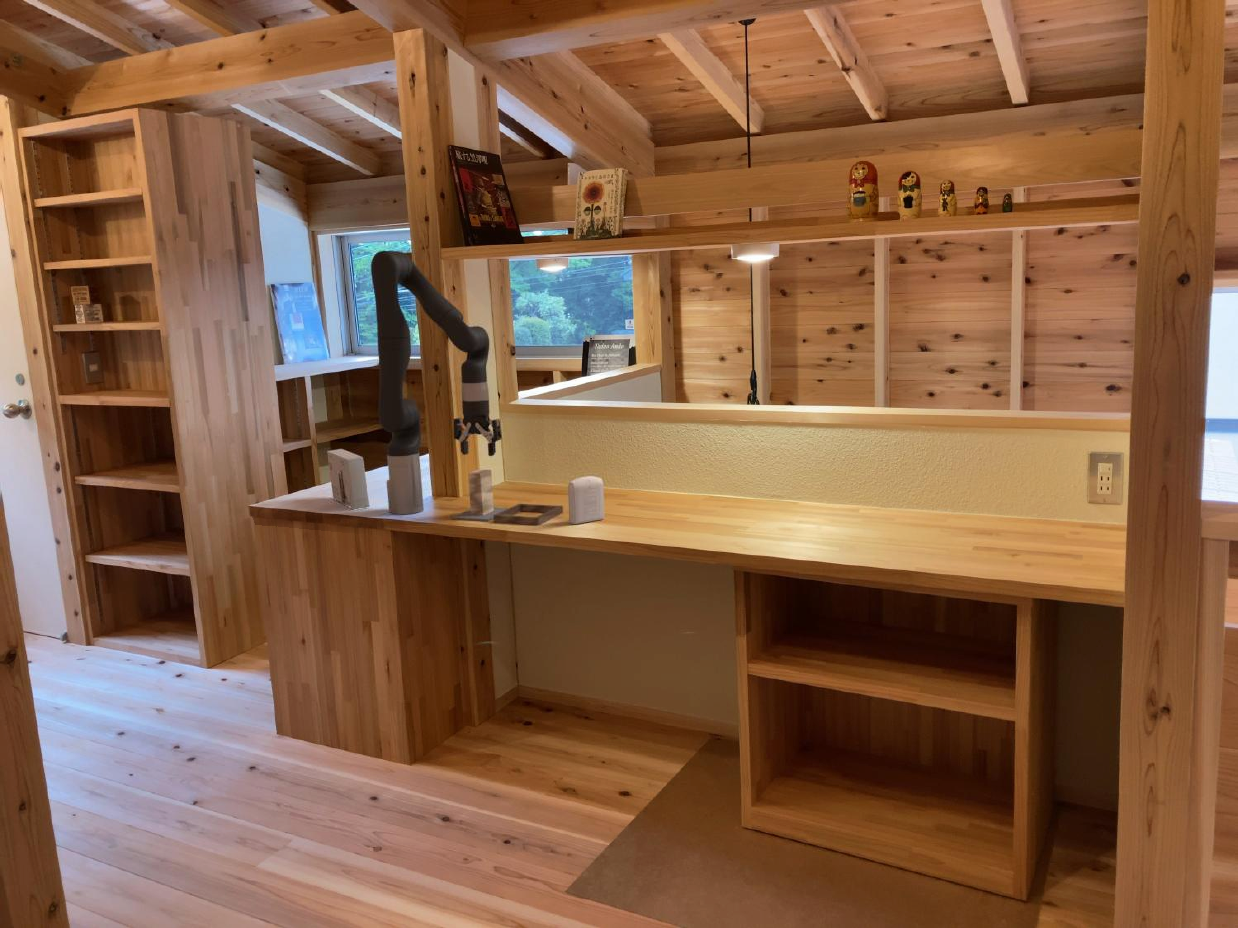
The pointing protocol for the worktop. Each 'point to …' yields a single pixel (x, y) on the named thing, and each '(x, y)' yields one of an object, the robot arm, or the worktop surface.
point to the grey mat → (486, 517)
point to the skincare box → (348, 478)
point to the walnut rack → (507, 517)
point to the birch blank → (481, 492)
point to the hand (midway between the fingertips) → (478, 455)
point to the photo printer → (586, 499)
